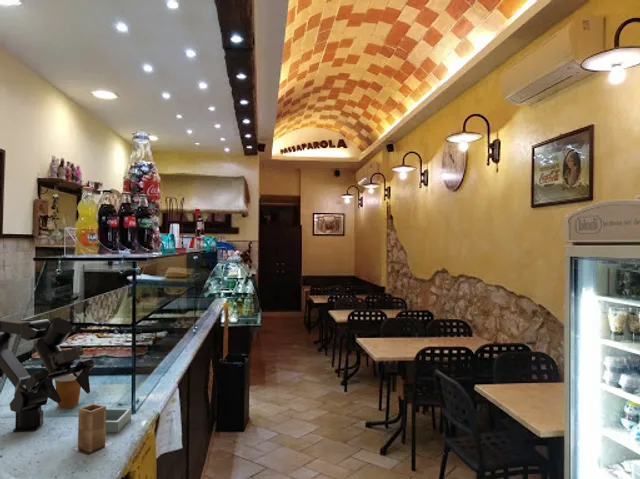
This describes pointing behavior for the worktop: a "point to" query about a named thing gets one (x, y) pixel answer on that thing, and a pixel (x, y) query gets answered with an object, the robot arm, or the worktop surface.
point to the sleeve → (91, 427)
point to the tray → (117, 419)
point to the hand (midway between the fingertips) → (74, 397)
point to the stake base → (90, 451)
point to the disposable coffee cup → (68, 391)
